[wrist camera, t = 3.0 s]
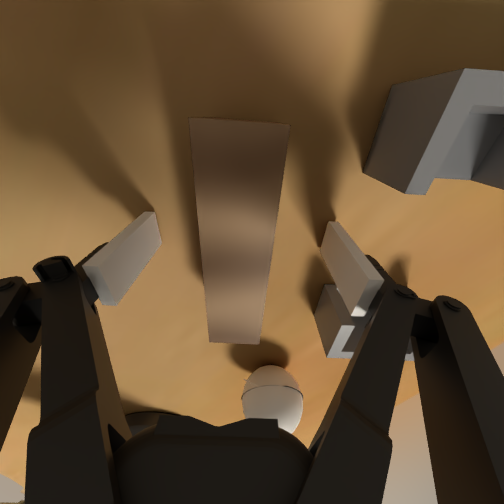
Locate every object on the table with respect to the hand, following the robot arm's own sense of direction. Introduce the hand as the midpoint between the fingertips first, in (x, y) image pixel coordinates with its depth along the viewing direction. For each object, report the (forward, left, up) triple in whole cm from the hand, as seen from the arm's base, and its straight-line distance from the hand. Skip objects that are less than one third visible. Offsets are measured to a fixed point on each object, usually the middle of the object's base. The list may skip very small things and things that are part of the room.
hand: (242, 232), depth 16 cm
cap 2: (+7, -12, 0) cm, 14 cm away
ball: (-20, -4, 0) cm, 20 cm away
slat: (0, 0, 0) cm, 0 cm away
